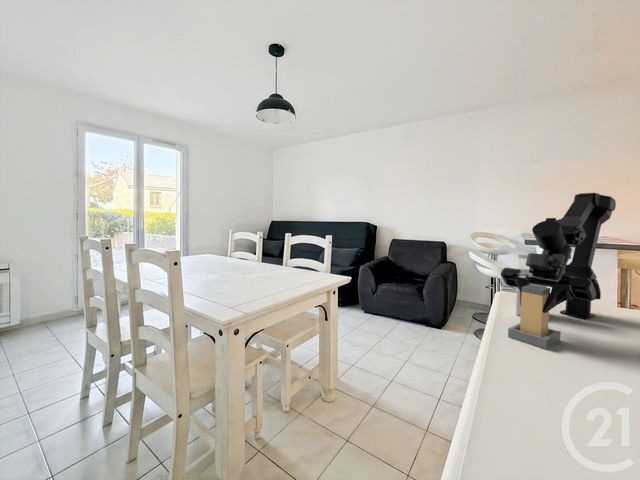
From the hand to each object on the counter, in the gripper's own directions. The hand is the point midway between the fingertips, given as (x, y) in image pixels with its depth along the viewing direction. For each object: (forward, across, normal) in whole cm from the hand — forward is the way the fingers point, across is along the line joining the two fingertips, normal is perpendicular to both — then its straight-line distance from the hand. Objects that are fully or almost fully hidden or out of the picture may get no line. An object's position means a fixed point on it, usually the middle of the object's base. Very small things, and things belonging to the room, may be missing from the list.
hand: (532, 309), depth 69 cm
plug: (+4, 0, +6) cm, 7 cm away
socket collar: (+5, 0, +7) cm, 8 cm away
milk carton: (-8, -8, +20) cm, 24 cm away
